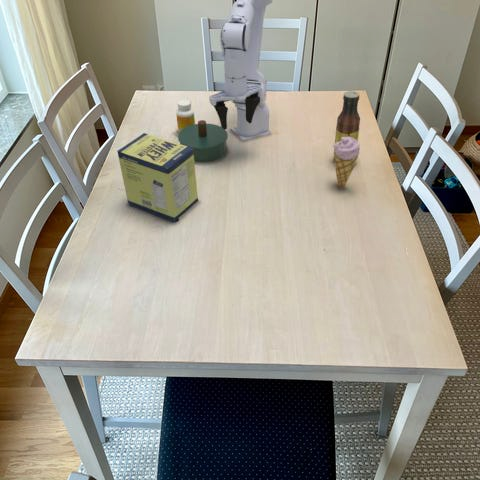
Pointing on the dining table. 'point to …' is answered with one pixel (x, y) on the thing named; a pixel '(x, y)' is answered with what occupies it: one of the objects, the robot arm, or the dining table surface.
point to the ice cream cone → (345, 158)
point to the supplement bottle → (184, 115)
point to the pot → (209, 153)
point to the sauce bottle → (348, 118)
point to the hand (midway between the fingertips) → (236, 124)
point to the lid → (202, 136)
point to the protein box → (159, 176)
